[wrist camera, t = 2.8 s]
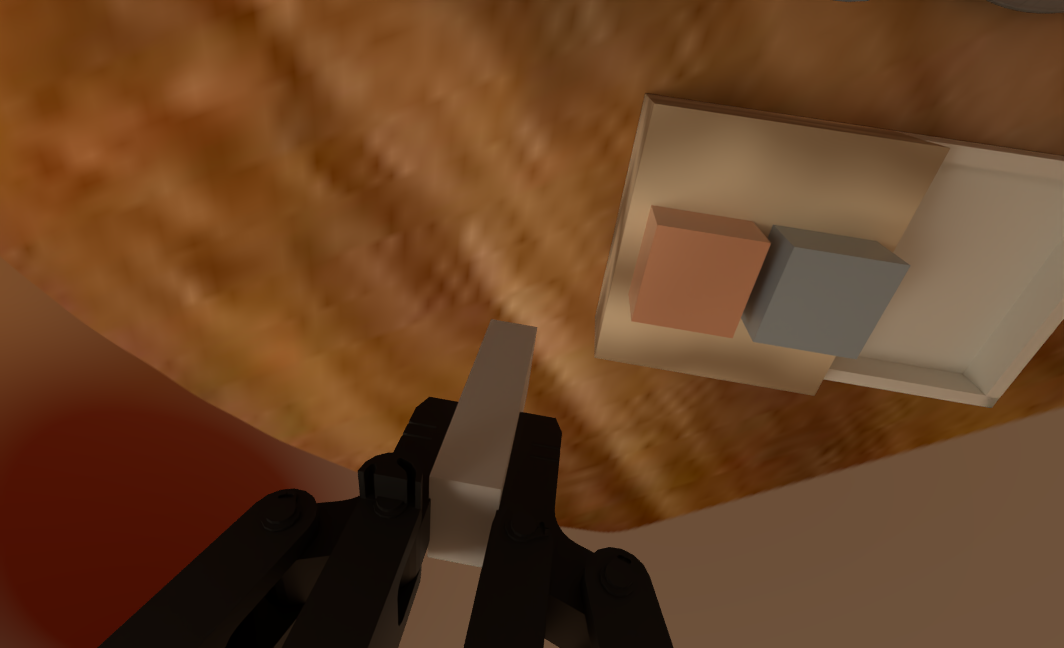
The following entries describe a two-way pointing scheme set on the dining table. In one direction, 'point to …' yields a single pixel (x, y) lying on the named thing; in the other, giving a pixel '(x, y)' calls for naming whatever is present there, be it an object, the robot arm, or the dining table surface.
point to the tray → (971, 279)
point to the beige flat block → (753, 216)
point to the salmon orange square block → (695, 271)
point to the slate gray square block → (821, 291)
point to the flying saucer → (1032, 5)
